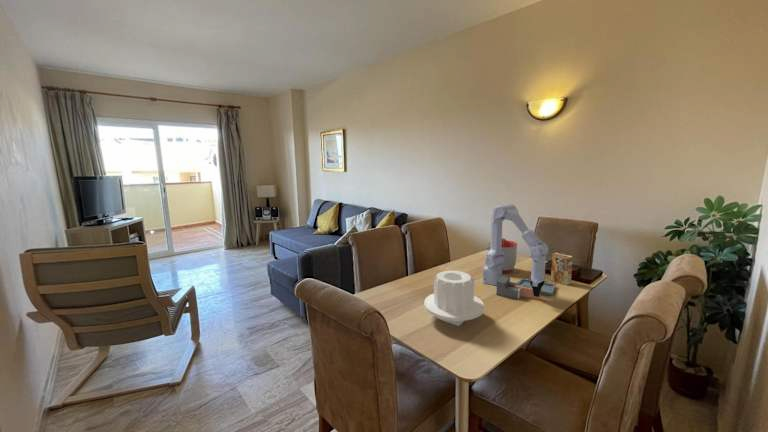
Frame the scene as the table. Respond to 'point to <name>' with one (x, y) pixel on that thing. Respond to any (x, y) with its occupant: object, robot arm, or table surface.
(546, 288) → the tray
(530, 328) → the table surface
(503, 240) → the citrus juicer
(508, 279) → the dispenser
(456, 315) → the ribbed cylinder on disc
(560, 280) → the candy box
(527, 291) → the long salmon pink stick
